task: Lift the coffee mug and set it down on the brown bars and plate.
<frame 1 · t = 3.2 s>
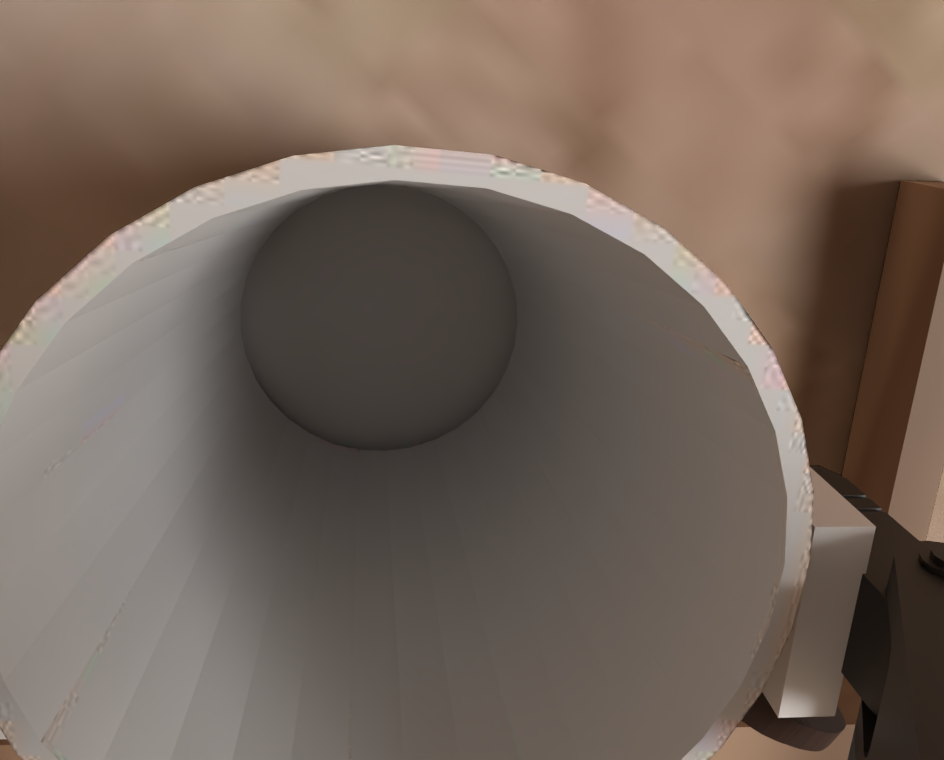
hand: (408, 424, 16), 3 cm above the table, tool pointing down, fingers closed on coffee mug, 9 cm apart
coffee mug: (418, 373, 19), on the table, touching gripper
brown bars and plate: (881, 383, 20), on the table
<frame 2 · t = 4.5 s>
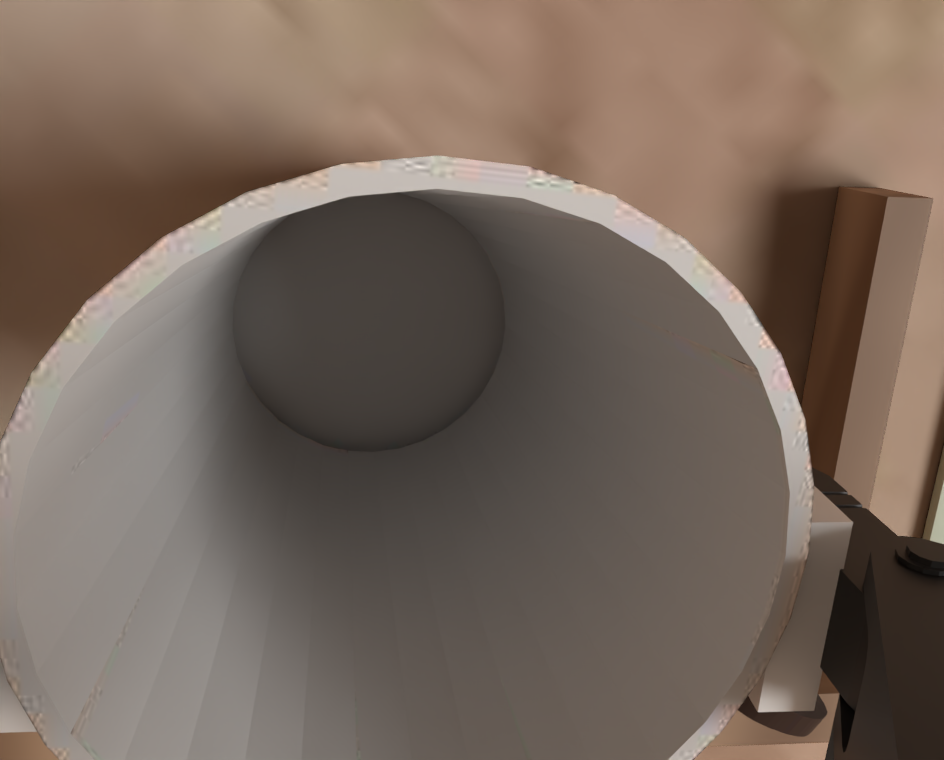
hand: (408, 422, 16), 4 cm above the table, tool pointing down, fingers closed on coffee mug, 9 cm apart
coffee mug: (406, 375, 19), point 1 cm above the table, touching gripper
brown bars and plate: (826, 375, 21), on the table
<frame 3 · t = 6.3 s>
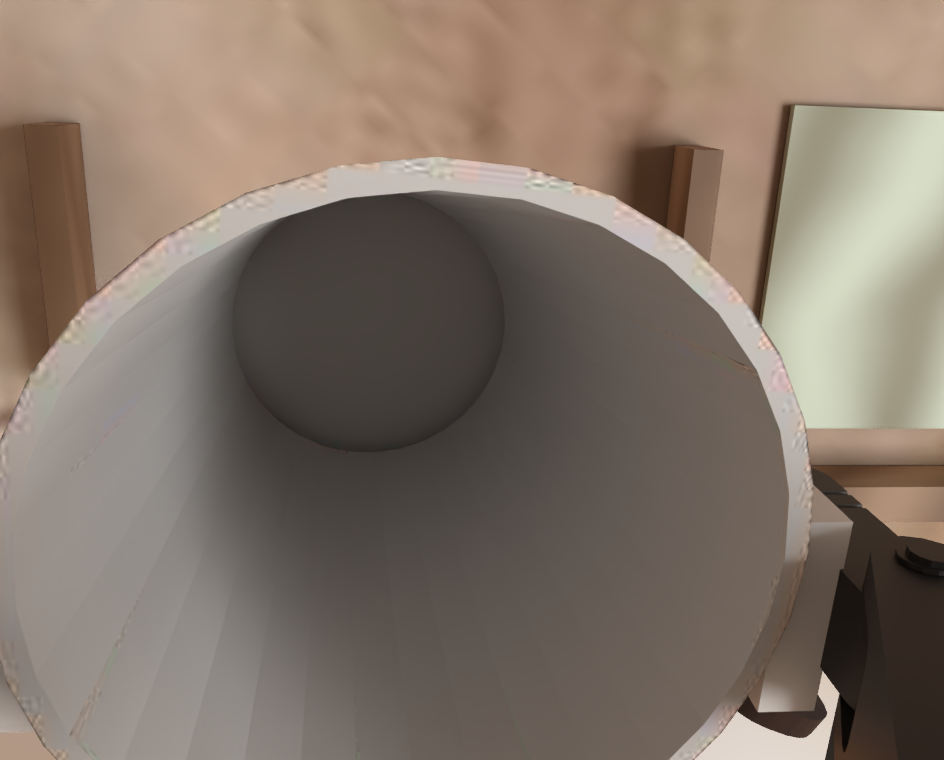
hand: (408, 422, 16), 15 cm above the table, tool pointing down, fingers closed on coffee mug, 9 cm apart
coffee mug: (405, 376, 19), point 12 cm above the table, touching gripper
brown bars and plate: (674, 272, 32), on the table
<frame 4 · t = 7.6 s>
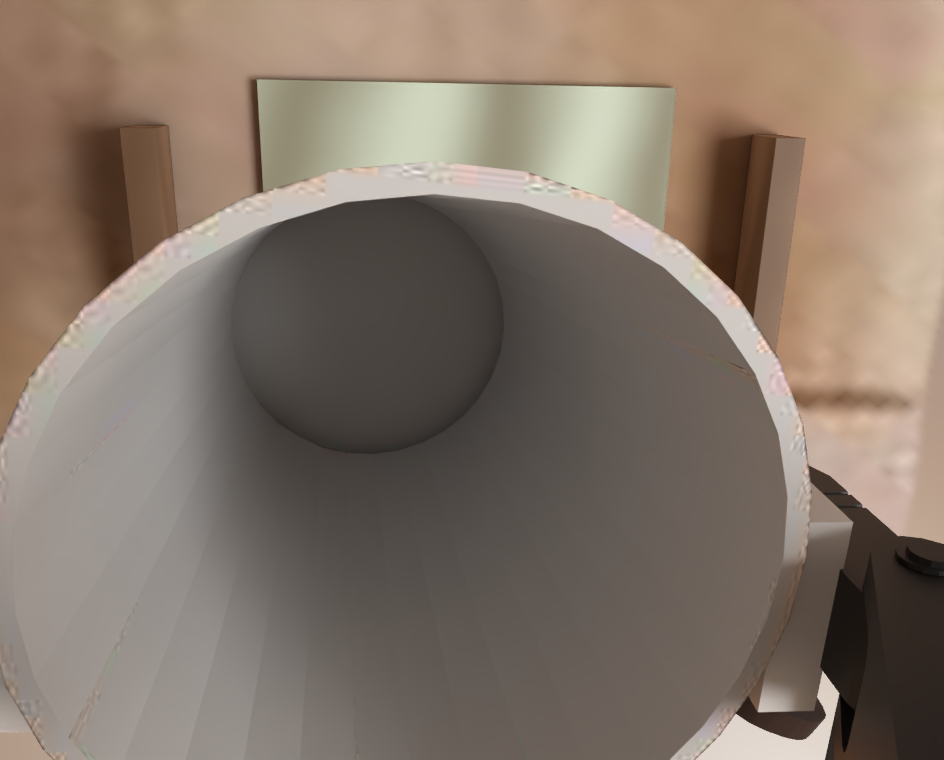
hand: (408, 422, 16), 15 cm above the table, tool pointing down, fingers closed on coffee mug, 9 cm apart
coffee mug: (405, 377, 19), point 12 cm above the table, touching gripper
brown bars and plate: (165, 260, 30), on the table
when the fingers open (4 cm above the table, at t = 11.0 s): coffee mug stays where it is, resting on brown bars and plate.
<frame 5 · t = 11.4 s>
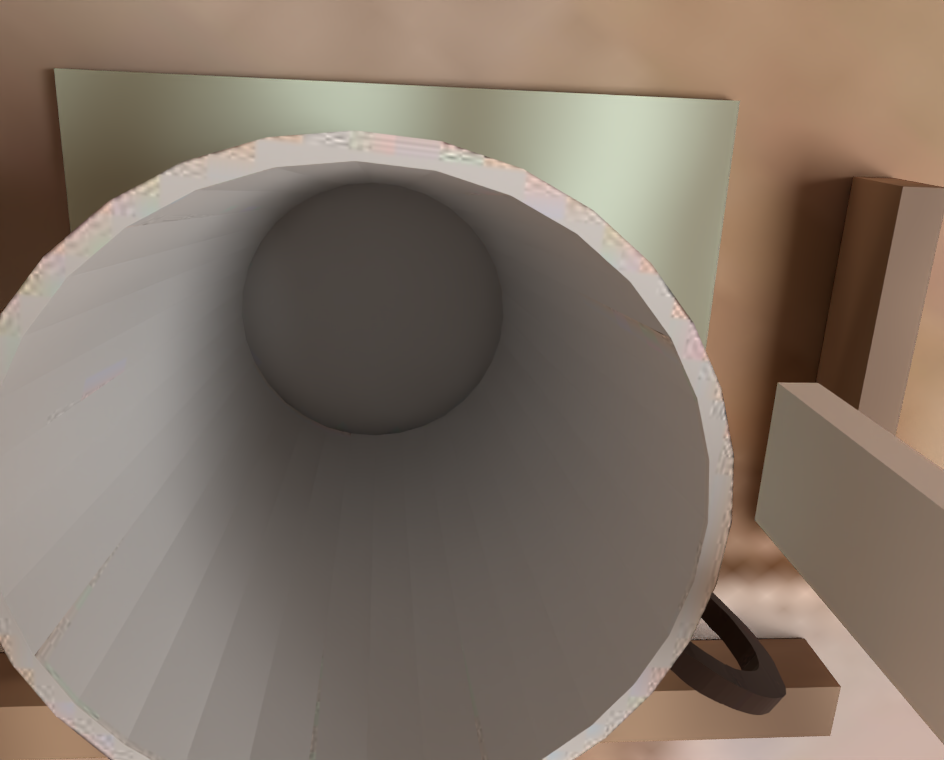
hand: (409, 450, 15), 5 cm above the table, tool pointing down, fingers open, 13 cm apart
coffee mug: (409, 363, 20), resting on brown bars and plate
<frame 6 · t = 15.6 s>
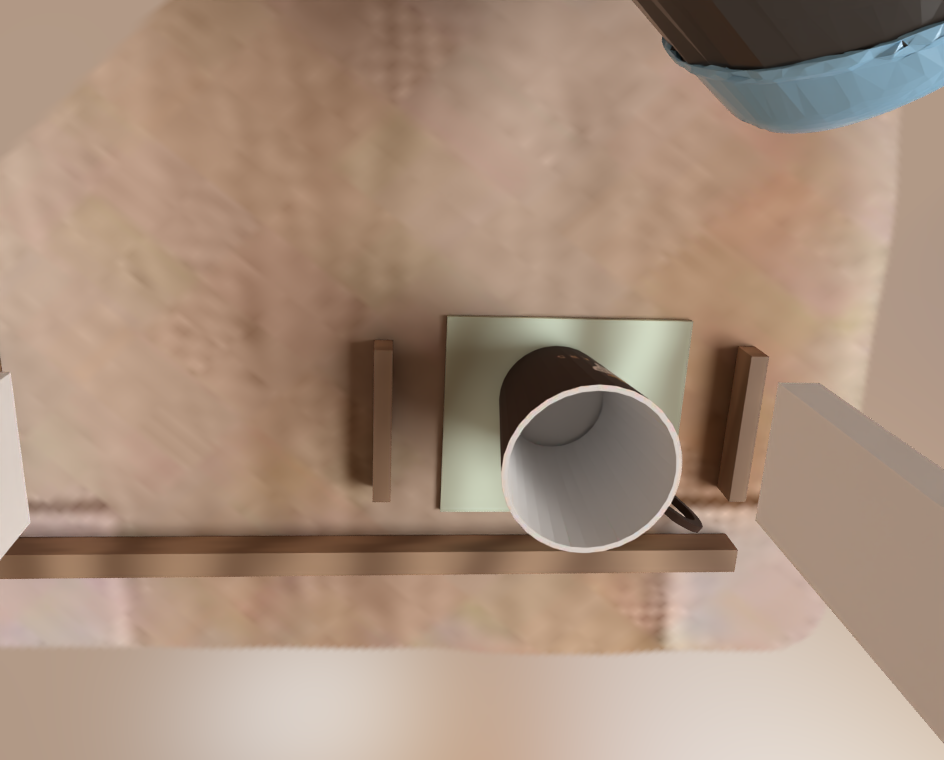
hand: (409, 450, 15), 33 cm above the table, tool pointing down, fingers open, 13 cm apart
coffee mug: (564, 418, 51), resting on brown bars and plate
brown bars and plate: (382, 415, 50), on the table
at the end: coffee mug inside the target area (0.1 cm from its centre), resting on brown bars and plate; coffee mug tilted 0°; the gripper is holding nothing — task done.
